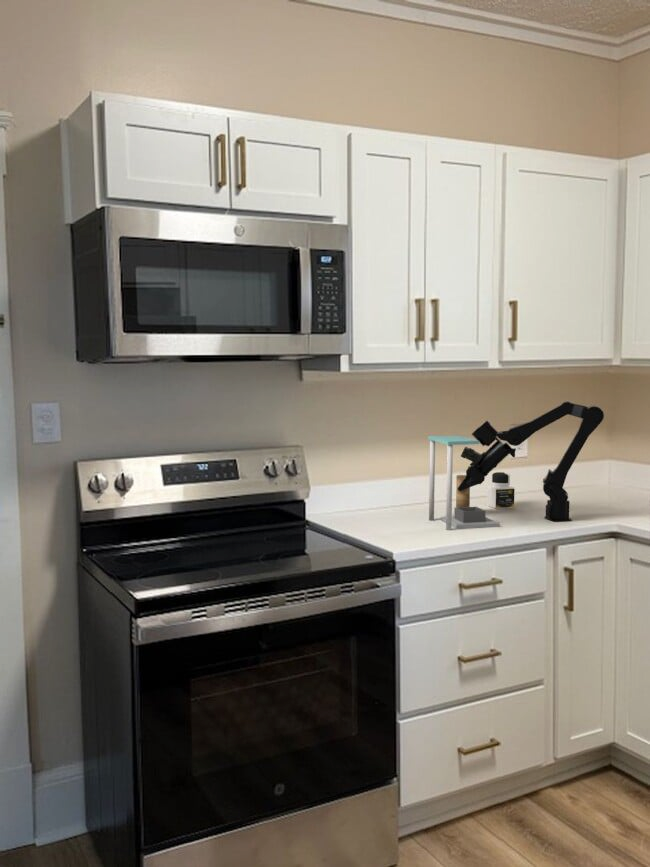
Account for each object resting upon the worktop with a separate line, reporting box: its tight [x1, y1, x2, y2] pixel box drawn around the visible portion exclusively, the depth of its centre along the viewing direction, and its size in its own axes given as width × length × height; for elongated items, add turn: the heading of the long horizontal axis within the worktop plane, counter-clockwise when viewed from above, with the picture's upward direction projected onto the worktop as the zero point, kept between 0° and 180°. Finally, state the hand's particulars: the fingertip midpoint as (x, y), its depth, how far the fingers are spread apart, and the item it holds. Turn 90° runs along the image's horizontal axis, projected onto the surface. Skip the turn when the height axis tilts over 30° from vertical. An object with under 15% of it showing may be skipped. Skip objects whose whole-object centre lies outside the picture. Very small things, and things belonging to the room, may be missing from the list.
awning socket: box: [427, 435, 501, 531], centre depth 272 cm, size 18×17×27 cm
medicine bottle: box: [486, 471, 516, 510], centre depth 303 cm, size 7×7×12 cm
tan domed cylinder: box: [455, 474, 471, 508], centre depth 287 cm, size 4×4×11 cm
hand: (458, 489), depth 287 cm, fingers closed on tan domed cylinder, 4 cm apart
